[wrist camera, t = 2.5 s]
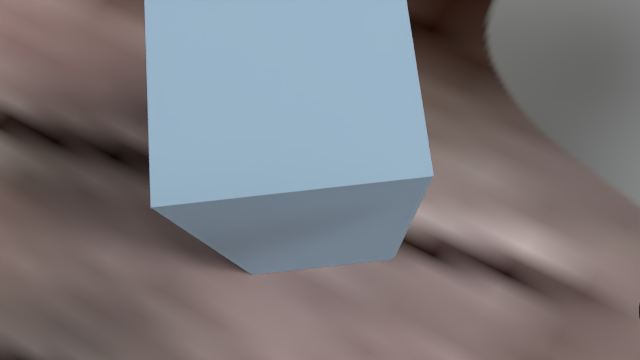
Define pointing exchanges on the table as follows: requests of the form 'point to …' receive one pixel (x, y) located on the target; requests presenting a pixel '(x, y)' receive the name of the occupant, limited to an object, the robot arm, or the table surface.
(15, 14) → the table surface
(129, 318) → the table surface
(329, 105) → the dusty blue block
